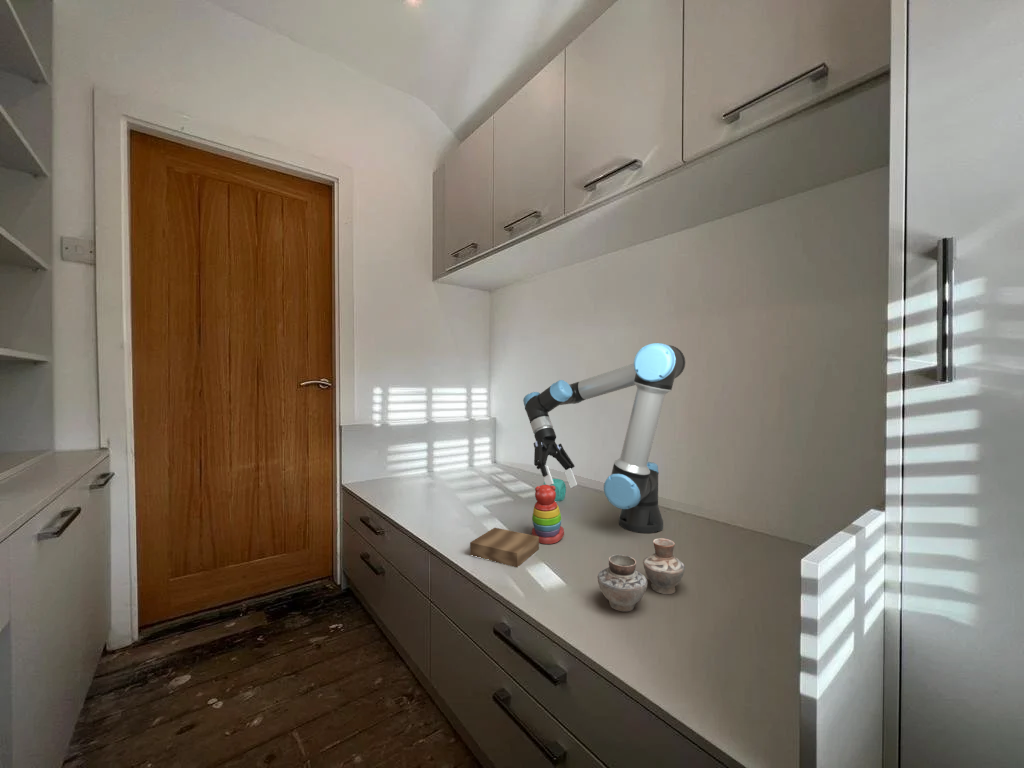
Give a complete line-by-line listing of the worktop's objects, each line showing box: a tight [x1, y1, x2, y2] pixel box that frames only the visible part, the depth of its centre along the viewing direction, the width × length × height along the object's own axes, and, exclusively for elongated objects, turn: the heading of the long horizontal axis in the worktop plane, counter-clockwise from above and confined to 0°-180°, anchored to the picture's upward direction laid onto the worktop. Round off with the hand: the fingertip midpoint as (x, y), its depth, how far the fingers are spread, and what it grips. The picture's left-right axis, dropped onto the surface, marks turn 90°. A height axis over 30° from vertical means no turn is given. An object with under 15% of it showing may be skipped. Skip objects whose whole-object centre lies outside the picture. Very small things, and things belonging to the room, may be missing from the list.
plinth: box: [469, 527, 540, 568], centre depth 128 cm, size 16×14×4 cm
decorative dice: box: [542, 478, 567, 502], centre depth 183 cm, size 8×8×8 cm
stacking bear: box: [531, 484, 565, 545], centre depth 138 cm, size 11×10×18 cm
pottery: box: [597, 537, 686, 612], centre depth 103 cm, size 11×25×12 cm, turn 121°
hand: (562, 486), depth 145 cm, fingers open, 13 cm apart
